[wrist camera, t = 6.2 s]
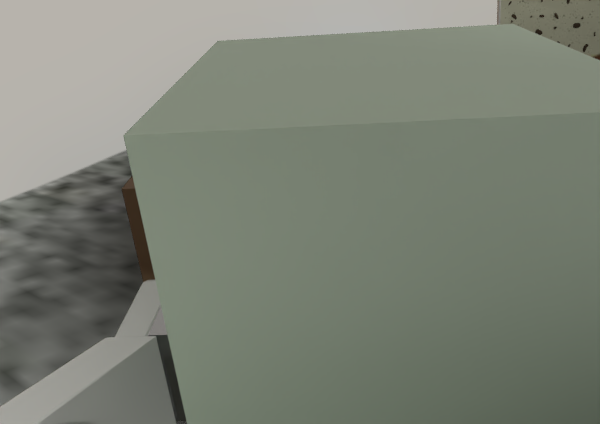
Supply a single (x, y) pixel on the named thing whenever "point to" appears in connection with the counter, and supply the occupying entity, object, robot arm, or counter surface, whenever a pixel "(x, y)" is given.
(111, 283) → the counter surface
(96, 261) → the counter surface
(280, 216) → the sage block
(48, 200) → the counter surface
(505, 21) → the food container
